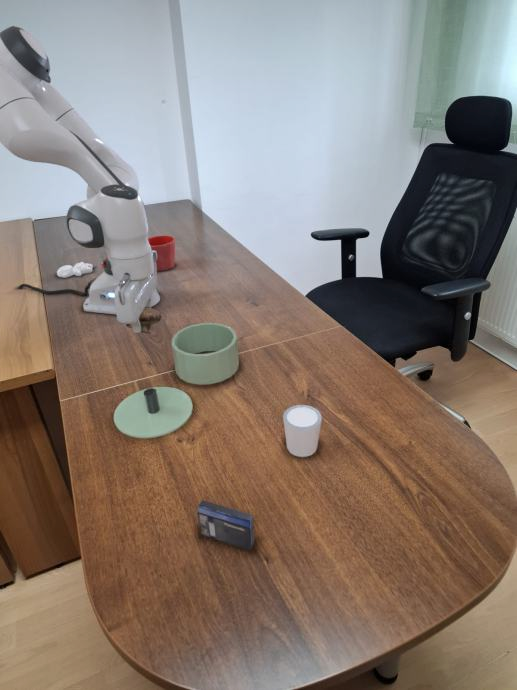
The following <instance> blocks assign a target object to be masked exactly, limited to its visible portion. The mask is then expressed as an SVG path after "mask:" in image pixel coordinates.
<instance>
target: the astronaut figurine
mask: <svg viewBox="0 0 517 690" xmlns="http://www.w3.org/2000/svg"><path fill="white" fill-rule="evenodd" d="M93 268H94V266H93V263H89V262H86V263H85V262H84V261H80V262H77V263H75V265H74V266H72V265H69V264H66V265H63V266H60V267H59V268H58V269H57V270H56V276H57V277H59V278H63V279H67V278H70V277H72V276H77V277H81V276H82V275H84V274H89V273H90V274H91V273H92V272H93Z"/></svg>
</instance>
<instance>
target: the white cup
mask: <svg viewBox="0 0 517 690" xmlns="http://www.w3.org/2000/svg"><path fill="white" fill-rule="evenodd" d="M282 418H283V419H282V420H283V427H284V434H285V443H286V449H287V451H288V452H289V454H291V455H293V456H295V457H299V458H306V457H309V456H312V455H313V454H315V453H316V452H317V449H318V445H319V439H320V434H321V427H322V421H323V416H322V413H321V412H320V411H319V410H318V409H317V408H316V407H314V406H311V405H306V404H296V405H293V406H290V407H288V408H286V410H285V411H284V413H283V414H282Z"/></svg>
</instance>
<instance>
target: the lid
mask: <svg viewBox="0 0 517 690" xmlns="http://www.w3.org/2000/svg"><path fill="white" fill-rule="evenodd" d="M193 405H194V404H193V400H192V399H191V397H190V396H189V394H187V393H186V392H185V391H183V390H182V389H179V388H176V387H171V386H154V387H147V388H144V389H141V390H138V391H136V392H134V393H132V394H130V395H128V396H126V398H124V399H123V400H122V401H121V402H120V403H119V404H118V405H117V407H116V408H115V410H114V413H113V423H114V426H115V428H116V429H117V430H118V431H119V432H120V433H121V434H124V435H125V436H127V437H131V438H134V439H154V438H160V437H163V436H166V435H169V434H171V433H173V432H175V431H177V430H179V429H180V428H181V427H182V426H184V425H185V424H186V423H187V422H188V421H189V420H190V418H191V416H192V414H193V410H194V406H193Z"/></svg>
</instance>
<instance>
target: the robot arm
mask: <svg viewBox="0 0 517 690" xmlns="http://www.w3.org/2000/svg"><path fill="white" fill-rule="evenodd" d="M50 73H51V64H50V60H49V57H48V55H47V53H46V52H45V50H44V48H43V46H42V45H41V43H40V42H39V41H38V40H37V39H36V38H35V36H34V35H32V34H31V33H29V32H28V31H26V30H24V28H22V27H19V26H15V25H12V26H9V27H6V28H5V29H3V30H2V31H0V143H1V144H2V146H3V147H5V149H6V150H7V151H9V152H10V153H11V154H13V156H15V157H17V158H19V159H22V160H25V161H28V162H33V163H42V164H51V165H56V166H61V167H64V168H67V169H69V170H71V171H73V172H75V173H76V174H78V176H79V177H81V178H82V180H83V181H84V182H85V183H86V184H87V187H86V199H84V200H81V201H79V202H77V203H75V204H73V205H70V207H69V208H68V210H67V212H66V227H67V231H68V233H69V235H70V237H71V238H72V240H73V242H76V244H78V245H80V246H81V247H83V248H85V249H100V248H105V251H106V256H105V259H103V261H102V263H101V264H100V267H101V269H104V271H103V272H101V274H100V275H98V276H97V277H95V278H93V279H91V280H90V281H88V282H87V285H86V286H85V287H84V292H80V291H78V290H75V289H71V288H68V289H67V288H66V289H65V288H63V289H58V290H45V289H42V288H39V287H37V286H33V285H31V284H27V283H21V284H20V285H19V286H18V289H19V290H20V289H23V288H28V289H30V290H33V291H37V292H39V293H41V294H46V295H55V294H56V295H57V294H64V293H73V294H76V295H78V296H82V297H86V296H87V295H88V297H87V298H86V299H85V300H84V302H83V305H82V307H83V311H84V312H88V313H99V314H106V315H115V316H116V320H117V323H119V324H120V325H126V324H131V326H132V328H131V329H132V332H133V333H135V334H137V333H138V334H139V333H140V334H141V333H142V332H141V330H142V323H140V321H139V318H140V317H139V316H140V314H141V313H142V311H143V309H144V308H152V307H154V306H156V305H157V304H158V303H160V300H161V296H160V294H159V291H158V290H157V288H158V287H157V286H158V270H157V267H156V260H157V252H156V251H154V250H152V249H151V246H150V244H149V241H148V238H149V223H148V218H147V208H146V205H145V203H144V201H143V200H142V197H141V195H140V193H139V190H140V180H139V175H138V173H137V171H136V170H135V168H134V167H133V166H132V165H130V164H128V163H127V162H126V161H125V160H124V159H123V158H122V157H121V156H120V155H119V154H118V153H117V152H116V151H114V149H112V148H111V147H110V146H109V145H108V144H107V143H106V142H105V141H104V140H103V139H101V137H100V136H98V135H97V133H96V132H95V131H94V130H93V129H92V128H91V126H89V124H88V123H87V122H86V121H85V120H84V118H83V117H82V116H81V115H80V114H79V113H78V111H76V109H75V108H74V107H73V106H72V105H71V104H70V102H69V101H68V100H67V99H66V98H65V97H64V96H63V95H62V94H61V93H60V92H59V91H58V90H57V89H56V88H54V87H53V86H52V85H51V81H52V78H51V76H50Z"/></svg>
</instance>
